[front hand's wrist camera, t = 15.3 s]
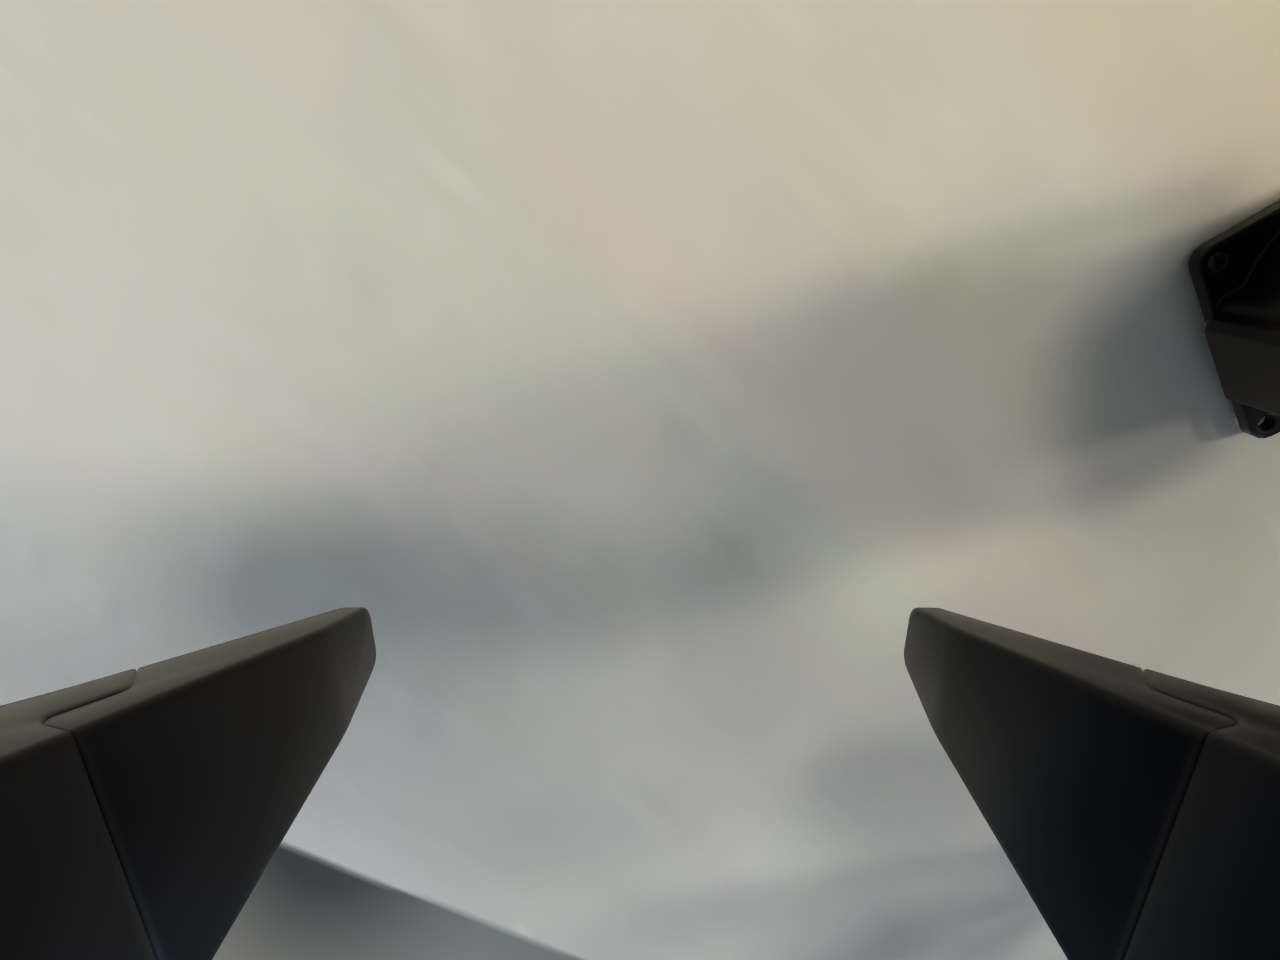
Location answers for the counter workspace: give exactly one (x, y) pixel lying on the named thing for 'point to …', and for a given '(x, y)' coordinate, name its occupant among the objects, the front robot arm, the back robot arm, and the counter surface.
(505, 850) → the counter surface
